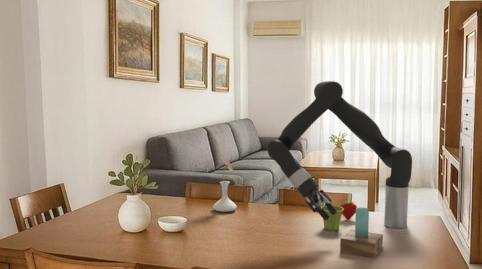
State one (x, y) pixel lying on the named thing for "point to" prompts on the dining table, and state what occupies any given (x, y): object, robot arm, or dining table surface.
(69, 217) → the dining table surface
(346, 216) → the strawberry
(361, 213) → the teal post
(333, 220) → the plant pot
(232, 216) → the dining table surface
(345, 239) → the walnut base
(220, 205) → the flower in vase
